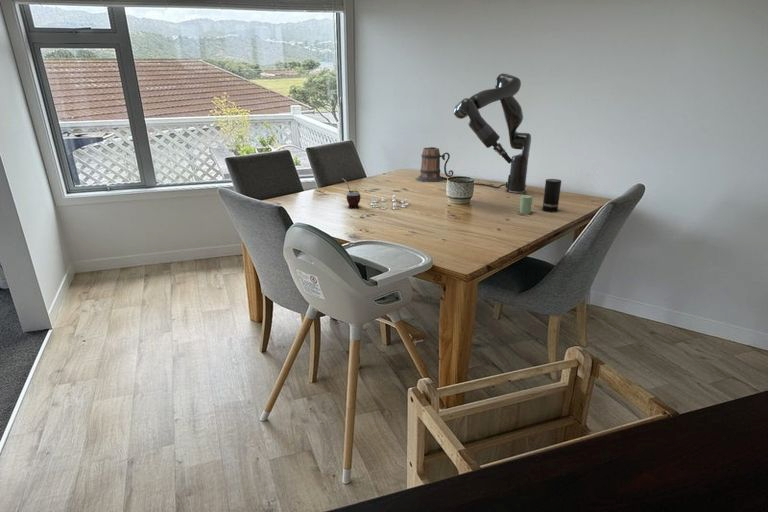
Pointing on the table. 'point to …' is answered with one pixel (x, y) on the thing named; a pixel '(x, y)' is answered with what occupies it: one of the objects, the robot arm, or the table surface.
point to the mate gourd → (352, 197)
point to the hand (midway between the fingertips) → (509, 160)
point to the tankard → (432, 165)
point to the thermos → (551, 195)
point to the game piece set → (392, 200)
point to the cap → (525, 204)
